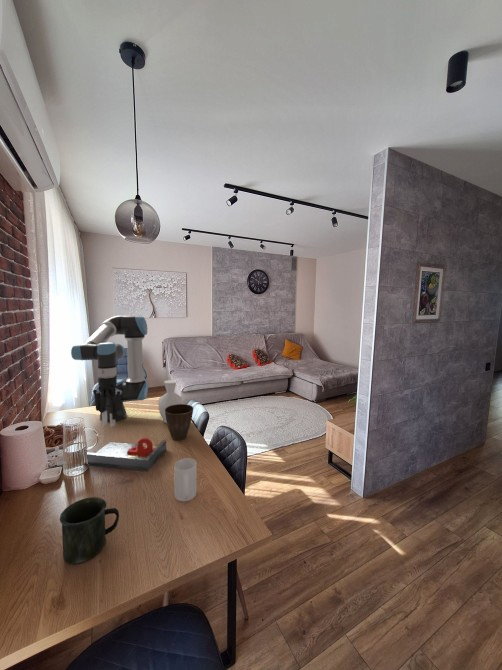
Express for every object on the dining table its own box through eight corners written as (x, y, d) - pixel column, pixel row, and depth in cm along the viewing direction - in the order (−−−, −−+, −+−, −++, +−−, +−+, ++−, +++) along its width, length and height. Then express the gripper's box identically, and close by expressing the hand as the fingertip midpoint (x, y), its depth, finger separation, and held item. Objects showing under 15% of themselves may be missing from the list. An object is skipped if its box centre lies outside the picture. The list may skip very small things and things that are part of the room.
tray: (110, 444, 137) (109, 435, 136) (166, 450, 133) (166, 440, 132) (83, 464, 119) (83, 453, 119) (147, 471, 115) (147, 460, 115)
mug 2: (173, 511, 92) (173, 478, 91) (173, 489, 104) (173, 459, 103) (198, 507, 95) (198, 474, 94) (195, 485, 106) (195, 456, 105)
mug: (65, 541, 80) (63, 503, 79) (119, 525, 86) (119, 489, 85) (57, 573, 70) (55, 530, 69) (119, 552, 76) (118, 513, 75)
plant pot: (191, 429, 156) (191, 403, 155) (194, 441, 142) (194, 412, 140) (164, 433, 151) (164, 405, 150) (165, 445, 137) (164, 415, 136)
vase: (172, 414, 178) (172, 377, 176) (187, 420, 170) (187, 381, 168) (153, 421, 166) (153, 381, 164) (168, 427, 158) (168, 386, 156)
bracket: (156, 451, 129) (155, 435, 128) (151, 456, 124) (151, 439, 124) (132, 448, 131) (132, 433, 130) (127, 453, 126) (126, 437, 125)
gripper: (85, 377, 121) (86, 427, 123) (119, 379, 119) (120, 430, 121) (96, 373, 129) (98, 421, 131) (128, 375, 126) (129, 423, 128)
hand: (108, 425), depth 126 cm, fingers open, 3 cm apart
